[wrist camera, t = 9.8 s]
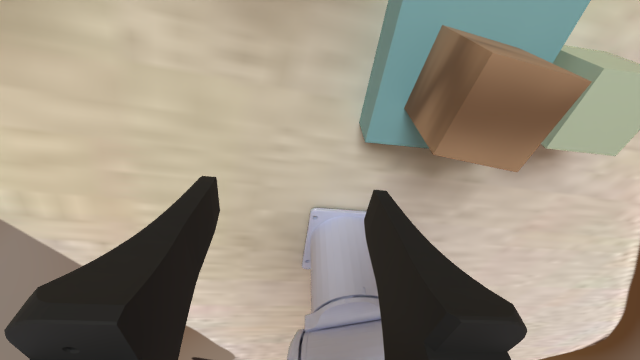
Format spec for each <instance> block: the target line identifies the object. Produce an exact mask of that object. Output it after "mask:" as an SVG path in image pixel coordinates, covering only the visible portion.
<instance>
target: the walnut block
mask: <svg viewBox="0 0 640 360" xmlns="http://www.w3.org/2000/svg"><path fill="white" fill-rule="evenodd" d="M591 82H592V81H589V80H587V79H585V78H583V77H581V76H579V75H576V74H574V73H572V72H570V71H568V70H566V69H563V68H561V67H559V66H557V65H555V64H552V63H550V62H548V61H546V60H544V59H542V58H539V57H537V56H535V55H533V54H531V53H529V52H526V51H524V50H522V49H520V48H517V47H514V46H510V45H507V44H504V43H501V42H497V41H494V40H491V39H487V38H484V37H481V36H477V35H474V34H471V33H468V32H464V31H461V30H458V29H454V28H451V27H448V26H444V25H442V27H441V29H440V31H439V33H438V35H437V37H436V40H435V42H434V44H433V46H432V48H431V51H430V53H429V55H428V57H427V59H426V61H425V64H424V66H423V68H422V70H421V72H420V74H419V77H418V79H417V81H416V83H415V85H414V88H413V90H412V92H411V94H410V96H409V98H408V101H407V103H406V105H405V107H404V109H405V110H406V112H407V114H408V115H409V117H410V118H411V120H412V122H413V123H414V125H415V126H416V128H417V130H418V131H419V133H420V134H421V136H422V138H423V139H424V141H425V142H426V144H427V146H428V147H429V149H430V150H431V152H432V154H433V155H437V156H442V157H447V158H452V159H456V160H461V161H466V162H471V163H475V164H480V165H485V166H490V167H494V168H499V169H504V170H509V171H513V172H518V171H519V170H520V168H521V167H522V166H523V165H524V164H525V162H526V161H527V160H528V159H529V158H530V156H531V155H532V154H533V153H534V151H535V150H536V149H537V148H538V147H539V145H540V144H541V143H542V142H543V141H544V139H545V138H546V137H547V136H548V134H549V133H550V132H551V131H552V130H553V128H554V127H555V126H556V125H557V124H558V122H559V121H560V120H561V119H562V118H563V116H564V115H565V114H566V113H567V111H568V110H569V109H570V108H571V107H572V105H573V104H574V103H575V102H576V101H577V99H578V98H579V97H580V96H581V95H582V93H583V92H584V91H585V90H586V88H587V87H588V86H589V85H590V84H591Z"/></svg>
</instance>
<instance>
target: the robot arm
mask: <svg viewBox="0 0 640 360" xmlns="http://www.w3.org/2000/svg"><path fill="white" fill-rule="evenodd" d="M219 212H220V207H219V198H218V189H217V179H216V177H208V176H202V177H200V178H199V179H198V180H197V181H196V182H195V183H194V184H193V185H192V186H191V187H190V188H189V189H188V190H187V191H186V192H185V193H184V194H183V195H182V196H181V197H180V198H179V199H178V200H177V201H176V202H175V203H174V204H173V205H172V206H171V207H170V208H168V209H167V210H166V211H165V212H164V213H163V214H161V215H160V216H159V217H158V218H157V219H156V220H154V221H153V222H152V223H151V224H149V225H148V226H147V227H145V228H144V229H143V230H141V231H140V232H139V233H137V234H136V235H134V236H133V237H132V238H130V239H129V240H127V241H125V242H124V243H122V244H121V245H119V246H117V247H116V248H114V249H113V250H111V251H109V252H108V253H106V254H104V255H103V256H101V257H99V258H97V259H95V260H94V261H92V262H90V263H88V264H86V265H84V266H82V267H80V268H78V269H76V270H74V271H73V272H70V273H68V274H66V275H64V276H62V277H60V278H57V279H55V280H53V281H51V282H49V283H47V284H44V285H42V286H40V287H38V288H37V289H36V290H35V291H34V293H33V294H32V295H31V296H30V297H29V299H28V300H27V301H26V302H25V304H24V305H23V306H22V308H21V309H20V310H19V312H18V313H17V314H16V316H15V317H14V318H13V320H12V321H11V322H10V324H9V325H8V326H7V328H6V329H5V336H6V338H7V339H8V341H9V342H10V343H11V344H13V345H14V346H15V347H16V348H17V349H19V350H20V351H21V352H22V353H23V354H25V355H26V356H27V357H28V358H30V360H178V357H179V352H180V347H181V343H182V339H183V334H184V330H185V325H186V321H187V317H188V313H189V309H190V304H191V301H192V297H193V293H194V289H195V285H196V282H197V279H198V275H199V272H200V270H201V267H202V264H203V262H204V259H205V256H206V254H207V251H208V248H209V246H210V243H211V240H212V238H213V235H214V232H215V229H216V225H217V221H218V216H219ZM314 216H316V217H314ZM302 268H304V269H311V314H308V315H305V329H300V330H298V331H297V332H296V334H295V335H294V338H293V340H292V341H291V343H290V346H289V350H288V356H287V360H511V358H510V356H509V354H508V351H509V350H510V349H511V348H513V347H514V346H515V345H517V344H518V343H519V342H520V341H521V340H522V339H523V338H524V337H525V335H526V333H527V328H526V326H525V324H524V323H523V321H522V319H521V317H520V316H519V314H518V312H517V310H516V309H515V307H514V305H513V304H512V303H510V302H508V301H507V300H505V299H503V298H502V297H500V296H499V295H497V294H495V293H494V292H492V291H490V290H489V289H487V288H486V287H484V286H483V285H481V284H480V283H479V282H477V281H476V280H474V279H473V278H471V277H470V276H469V275H467V274H466V273H465V272H463V271H462V270H461V269H460V268H458V267H457V266H456V265H455V264H453V263H452V262H451V261H450V260H449V259H447V258H446V257H445V256H444V255H443V254H442V253H441V252H440V251H438V250H437V249H436V248H435V247H434V246H433V245H432V244H431V243H430V242H429V241H428V240H427V239H426V238H425V237H424V236H423V235H422V234H421V232H420V231H419V230H418V229H417V228H416V227H415V226H414V225H413V224H412V222H411V221H410V220H409V219H408V218H407V216H406V215H405V214H404V213H403V211H402V210H401V209H400V208H399V206H398V205H397V204H396V203H395V201H394V200H393V199H392V197H391V196H390V195H389V194H388V192H387V191H382V190H374V191H373V194H372V197H371V200H370V203H369V206H368V209H367V211H353V210H340V209H326V208H313V209H311V212H310V218H309V224H308V230H307V236H306V242H305V249H304V255H303V261H302Z"/></svg>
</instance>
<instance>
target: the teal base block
mask: <svg viewBox="0 0 640 360" xmlns="http://www.w3.org/2000/svg"><path fill="white" fill-rule="evenodd" d="M590 1H591V0H389V1H388V5H387V9H386V13H385V18H384V22H383V26H382V30H381V34H380V38H379V42H378V47H377V51H376V55H375V59H374V63H373V67H372V71H371V76H370V80H369V84H368V88H367V92H366V96H365V100H364V105H363V109H362V113H361V117H360V121H359V123H360V127H361V130H362V133H363V137H364V140H365V142H369V143H379V144H389V145H399V146H409V147H419V148H428V149H429V147H428V146H427V144H426V142H425V141H424V139H423V138H422V136H421V134H420V133H419V131H418V130H417V128H416V126H415V125H414V123H413V122H412V120H411V118H410V117H409V115H408V114H407V112H406V110H405V109H404V107H405V105H406V103H407V101H408V98H409V96H410V94H411V92H412V90H413V88H414V85H415V83H416V81H417V79H418V77H419V74H420V72H421V70H422V68H423V66H424V64H425V61H426V59H427V57H428V55H429V53H430V51H431V48H432V46H433V44H434V42H435V40H436V37H437V35H438V33H439V31H440V29H441V27H442V25H444V26H448V27H451V28H454V29H458V30H461V31H464V32H468V33H471V34H474V35H477V36H481V37H484V38H487V39H491V40H494V41H497V42H501V43H504V44H507V45H510V46H514V47H517V48H520V49H522V50H524V51H526V52H529V53H531V54H533V55H535V56H537V57H539V58H542V59H544V60H546V61H548V62H550V63H552V64H553V62H554V60H555V59H556V57H557V55H558V54H559V52H560V50H561V49H562V47H563V45H564V44H565V42H566V40H567V39H568V37H569V35H570V34H571V32H572V30H573V29H574V27H575V25H576V24H577V22H578V20H579V19H580V17H581V16H582V14H583V12H584V11H585V9H586V7H587V6H588V4H589V2H590Z"/></svg>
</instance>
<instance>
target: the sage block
mask: <svg viewBox="0 0 640 360" xmlns="http://www.w3.org/2000/svg"><path fill="white" fill-rule="evenodd" d="M553 64H555V65H557V66H559V67H561V68H563V69H566V70H568V71H570V72H572V73H574V74H576V75H579V76H581V77H583V78H585V79H587V80H589V81H592V82H591V84H590V85H589V86H588V87H587V88H586V90H585V91H584V92H583V93H582V95H581V96H580V97H579V98H578V99H577V101H576V102H575V103H574V104H573V105H572V107H571V108H570V109H569V110H568V111H567V113H566V114H565V115H564V116H563V118H562V119H561V120H560V121H559V122H558V124H557V125H556V126H555V127H554V128H553V130H552V131H551V132H550V133H549V134H548V136H547V137H546V138H545V139H544V141H543V142H542V143H541V145H543V146H544V147H545V148H546V149H555V150H564V151H573V152H582V153H591V154H601V155H610V156H616V155H617V154H618V153H619V152H620V151H621V150H622V149H623V148H624V146H625V145H626V144H627V143H628V142H629V141H630V140H631V139H632V138H633V137H634V136H635V135H636V133H637V132H638V131H639V130H640V64H638V63H636V62H633V61H630V60H627V59H625V58H622V57H619V56H616V55H613V54H611V53H608V52H604V51H597V50H591V49H584V48H578V47H572V46H565V45H563V47H562V49H561V50H560V52H559V54H558V55H557V57H556V59H555V60H554V62H553Z"/></svg>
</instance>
